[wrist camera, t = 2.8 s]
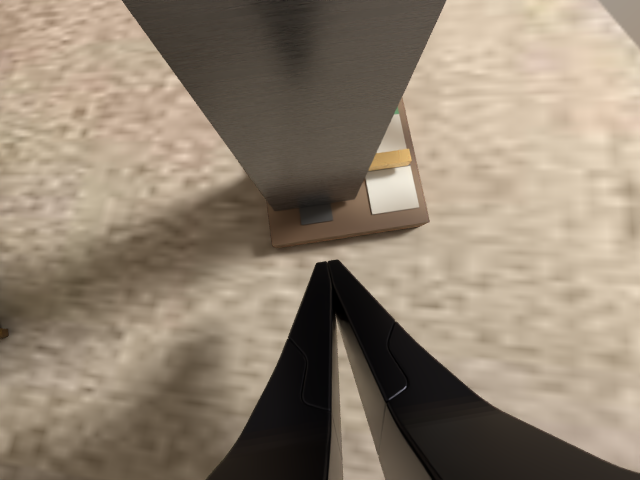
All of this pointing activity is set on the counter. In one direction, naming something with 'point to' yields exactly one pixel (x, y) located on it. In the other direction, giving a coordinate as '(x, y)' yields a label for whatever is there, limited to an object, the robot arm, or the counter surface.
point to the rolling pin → (3, 333)
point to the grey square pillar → (296, 83)
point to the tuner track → (361, 201)
